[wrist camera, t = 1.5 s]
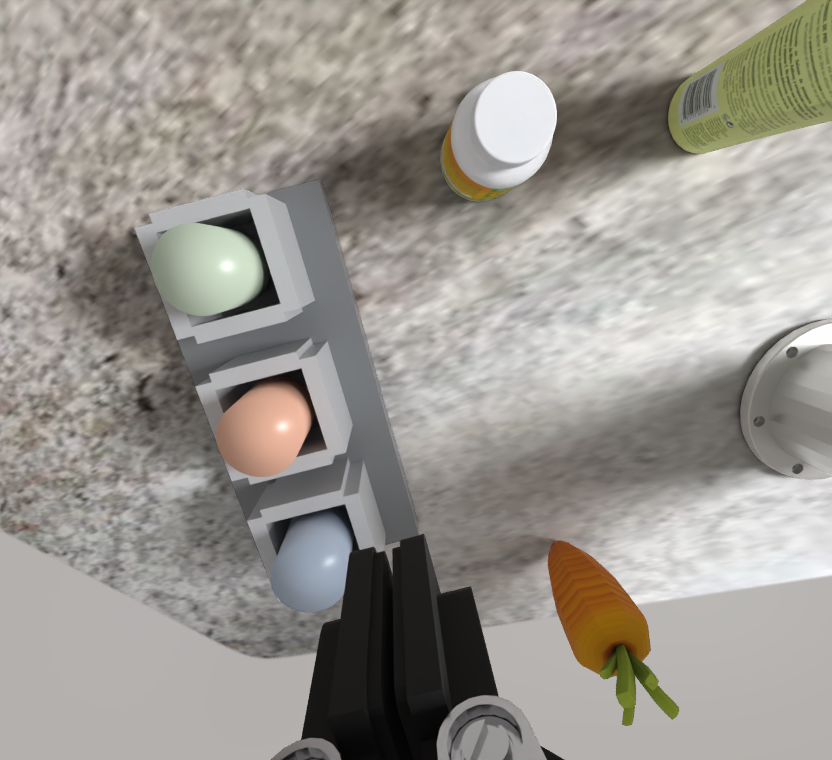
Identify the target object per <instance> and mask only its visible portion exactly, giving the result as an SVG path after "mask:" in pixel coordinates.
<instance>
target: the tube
mask: <svg viewBox="0 0 832 760" xmlns="http://www.w3.org/2000/svg"><path fill="white" fill-rule="evenodd" d="M829 121H832V0H807V1H805V2H804V3H802V4H801V5H799V6H798V7H796V8H795V9H793V10H792V11H790V12H789V13H787V14H786V15H784V16H783V17H781V18H780V19H778V20H777V21H775V22H774V23H772V24H771V25H769V26H768V27H766V28H765V29H763V30H762V31H760V32H759V33H757V34H756V35H754V36H753V37H751V38H750V39H748V40H747V41H745V42H744V43H742V44H741V45H739V46H738V47H736V48H734V49H733V50H731V51H730V52H728V53H727V54H725V55H723V56H722V57H720V58H719V59H717V60H716V61H714V62H713V63H711V64H709V65H708V66H706V67H705V68H703V69H702V70H700V71H698V72H697V73H695V74H694V75H692V76H691V77H689V78H688V79H687V80H686V81H684V82H683V83H682V84H681V85H680V87H679V88H678V89H677V91H676V92H675V94H674V96H673V98H672V101H671V103H670V107H669V113H668V123H669V129H670V132H671V135H672V137H673V139H674V140H675V142H676V143H677V144H678V145H679V146H680V147H681V148H683V149H684V150H686V151H688V152H691V153H699V154H700V153H707V152H711V151H715V150H719V149H722V148H726V147H729V146H733V145H737V144H741V143H744V142H748V141H752V140H756V139H760V138H764V137H767V136H771V135H775V134H779V133H783V132H787V131H791V130H795V129H800V128H804V127H808V126H812V125H816V124H820V123H825V122H829Z"/></svg>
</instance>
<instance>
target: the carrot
mask: <svg viewBox="0 0 832 760" xmlns="http://www.w3.org/2000/svg"><path fill="white" fill-rule="evenodd" d="M548 569H549V575H550V581H551V586H552V591H553V596H554V601H555V605H556V609H557V613H558V615H559V618H560V621H561V623H562V626H563V629H564V631H565V634H566V636H567V639H568V641H569V643H570V645H571V648H572V651H573V653H574V655H575V657H576V659H577V661H578V662H579V663H580V664H581V665H582V666H584V667H586V668H588V669H590V670H592V671H594V672H596V673H598V674H600V676H601V677H602V678H603V679H608V678H610V677H612V676H617V684H616V696H617V699H618V701H619V703H620V705H621V706H622V707H623V708H624V712H623V721H622V724H623V725H625V726H628V725H632V722H633V718H634V709H635V706H634V705H636V687H635V686H636V685H635V676H636V677H637V679H638V680H639V681H640V683H641V684H642V685H643V687H644V688H645V689H646V691H647V692H648V693H649V694H650V696H651V697H652V698H653V700H654V701H655V702H656V704H657V705H658V706H659V707H660V708H661V709H662V710H663V711H664V712H665V713H666V714H667V715H668V716H669V717H670V718H671V719H674V718H675V717H676V716H677V715H678V712H679V707H678V706H677V705H676V704H675V703H674V701H673V700H671V698H670V697H668V695H666V694H665V693H664V692H663V691H662V689H661V688H660V687H659V686H658V682H659V681H658V679H657V678H656V676H655V675H654V674H653V672H652V671H651V670H650V669H649V667H648V666H646V665H645V664H644V663H643V662H642V661H643V660H644V658H645V657H646V656H647V655H648V654H649V652H650V650H651V649H650V639H649V631H648V625H647V621H646V619H645V617H644V615H643V614H642V613H641V611H640V610H639V609H638V607H637V606H636V605H635V603H634V602H633V601H632V599H631V598H630V597H629V595H628V594H627V593H626V591H625V590H624V589H623V588H622V586H621V585H620V584H619V583H618V581H617V580H616V579H615V578H614V577H613V576H612V575H611V574H610V573H609V572H608V571H607V570H606V569H605V568H604V567H603V566H602V565H601V564H599V563H598V562H597V561H596V560H595V559H594V558H592V557H591V556H590V555H588V554H587V553H585V552H583V551H582V550H580V549H578V548H576V547H575V546H573V545H571V544H569V543H567V542H564V541H556V542H554V543H553V545H552V546H551V549H550V552H549V555H548Z"/></svg>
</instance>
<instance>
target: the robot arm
mask: <svg viewBox="0 0 832 760" xmlns="http://www.w3.org/2000/svg"><path fill="white" fill-rule="evenodd" d="M740 416H741V427H742V431H743V435H744V438H745V440H746V442H747V444H748V446H749V448H750V450H751V451H752V452H753V453H754V454H755V456H756V457H757V458H758V459H759V460H760V461H762V462H763V463H764V464H766V465H767V466H768V467H770V468H772V469H774V470H776V471H778V472H780V473H781V474H784V475H787V476H789V477H792V478H798V479H807V480H814V479H825V478H829V477H832V319H825V320H822V321H818V322H814V323H810V324H808V325H805V326H803V327H801V328H799V329H796V330H794V331H793V332H791V333H790V334H788V335H787V336H785V337H784V338H782V339H780V340H779V341H778V342H777V343H776V344H775V345H774V346H773V347H772V348H770V349H769V350H768V351H767V352H766V354H765V355H764V356H763V357H762V359H761V360H760V361H759V362H758V364H757V365H756V367H755V368H754V370H753V372H752V374H751V375H750V377H749V379H748V381H747V384H746V387H745V390H744V392H743V396H742V402H741V408H740ZM392 555H393V575H392V572H391V569H390V565H389V562H388V559H387V556H386V553H385V551H381V552H377V551H376V549H375V547H370V548H366V549H362V550H358V551H354V552H351V553H350V554H349V560H348V567H347V574H346V582H345V589H344V597H343V604H342V612H341V619H338V620H334V621H330V622H326V623H324V624H323V626H322V629H321V633H320V639H319V644H318V650H317V655H316V661H315V666H314V672H313V677H312V684H311V688H310V694H309V700H308V705H307V711H306V716H305V722H304V727H303V732H302V738H301V740H300V741H296V742H295V743H293V744H291V745H289V746H287V747H285V748H284V749H282V750H281V751H280V752H279V753H278V754H277V755H275V756H274V757H273V758H272V759H271V760H564V759H562V758H560V757H559V756H557V755H555V754H554V753H552V752H550V751H548V750H547V749H545V748H543V747H542V746H540V745H539V742H538V740H537V738H536V736H535V734H534V732H533V730H532V727H531V725H530V723H529V721H528V720H527V718H526V717H525V715H524V714H523V712H522V711H521V709H519V708H518V707H516V706H515V705H514V704H513V703H511V702H510V701H508V700H506V699H503V698H500V697H499V696H498V692H497V688H496V684H495V680H494V676H493V672H492V668H491V664H490V660H489V656H488V652H487V648H486V644H485V640H484V636H483V632H482V628H481V624H480V620H479V616H478V612H477V608H476V604H475V600H474V596H473V593H472V589H471V586H470V587H466V588H462V589H458V590H454V591H450V592H446V593H442V594H441V593H440V589H439V586H438V582H437V578H436V575H435V571H434V567H433V564H432V560H431V556H430V553H429V549H428V545H427V542H426V538H425V535H424V534H422V535H418V536H414V537H410V538H406V539H402V540H400V547H397V548H393V551H392Z"/></svg>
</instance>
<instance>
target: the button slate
mask: <svg viewBox="0 0 832 760" xmlns="http://www.w3.org/2000/svg"><path fill="white" fill-rule="evenodd" d="M353 540H354V530H353V527H352V524H351V521H350V518H349V516H348V514H347V513H346V512H345V511H344V510H342V509H341V508H339V507H337V506H335V507H331V508H327V509H323V510H319V511H315V512H311V513H307V514H303V515H299V516H295V517H293V518H292V520H291V522H290V525H289V528H288V530H287V533H286V535H285V538H284V540H283V543H282V545H281V548H280V550H279V553H278V556H277V558H276V561H275V563H274V566H273V568H272V571H271V586H272V589H273V591H274V593H275V595H276V596H277V598H278V599H279V600H280V601H281V602H282V603H284V604H285V605H286V606H288V607H290V608H292V609H295V610H298V611H302V612H318V611H322V610H325V609H327V608H330V607H331V606H333V605H334V604H336V603H337V602H338V601H339V600H340V599H341V597H342V596H343V594H344V589H345V582H346V574H347V567H348V560H349V554H350V553H351V552H352V547H353Z"/></svg>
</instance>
